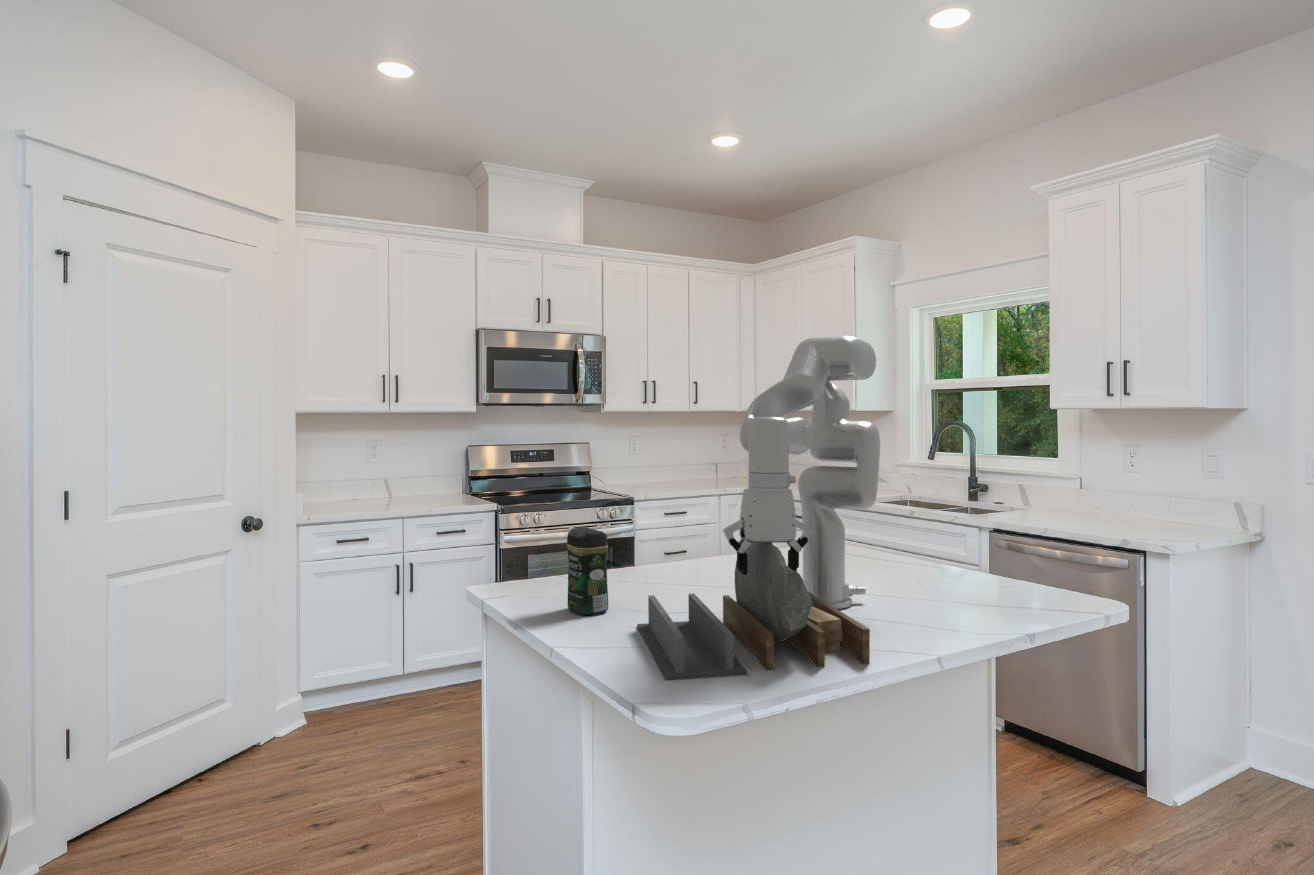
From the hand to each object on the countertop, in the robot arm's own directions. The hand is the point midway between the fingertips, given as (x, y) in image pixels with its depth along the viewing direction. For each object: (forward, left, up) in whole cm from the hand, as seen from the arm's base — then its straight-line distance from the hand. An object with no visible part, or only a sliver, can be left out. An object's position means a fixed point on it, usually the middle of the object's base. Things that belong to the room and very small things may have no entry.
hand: (767, 572), depth 142 cm
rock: (0, 0, -14) cm, 14 cm away
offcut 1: (-9, -1, -10) cm, 14 cm away
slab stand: (+16, 0, -14) cm, 21 cm away
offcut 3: (-9, 0, -14) cm, 17 cm away
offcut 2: (-9, 0, -12) cm, 15 cm away
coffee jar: (+32, -31, -14) cm, 47 cm away
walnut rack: (-4, 0, -14) cm, 14 cm away
